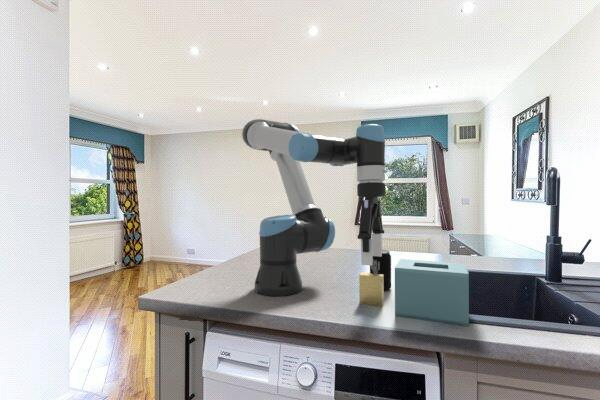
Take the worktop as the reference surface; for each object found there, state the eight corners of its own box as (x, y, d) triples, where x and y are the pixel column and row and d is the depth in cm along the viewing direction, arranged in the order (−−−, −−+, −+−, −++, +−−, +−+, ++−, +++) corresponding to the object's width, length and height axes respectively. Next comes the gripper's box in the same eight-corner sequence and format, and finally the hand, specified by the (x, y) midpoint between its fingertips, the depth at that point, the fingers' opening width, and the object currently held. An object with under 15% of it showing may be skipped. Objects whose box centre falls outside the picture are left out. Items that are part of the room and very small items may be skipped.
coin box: (394, 315, 76) (394, 267, 76) (400, 300, 87) (400, 258, 87) (468, 326, 70) (468, 273, 69) (465, 308, 80) (464, 263, 80)
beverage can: (392, 292, 95) (391, 253, 95) (370, 291, 97) (370, 252, 96) (390, 286, 102) (390, 249, 102) (369, 285, 103) (369, 249, 103)
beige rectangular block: (359, 304, 85) (359, 274, 85) (361, 300, 88) (361, 272, 88) (381, 307, 82) (381, 276, 82) (383, 303, 85) (383, 274, 85)
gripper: (376, 178, 72) (378, 270, 72) (391, 184, 95) (392, 253, 94) (345, 180, 75) (346, 268, 75) (367, 185, 98) (368, 252, 98)
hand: (372, 260), depth 85 cm, fingers open, 13 cm apart
